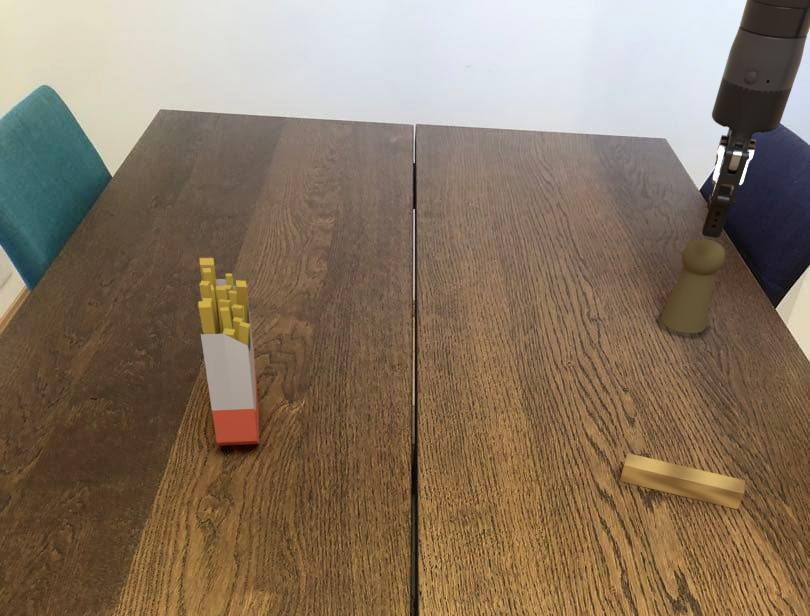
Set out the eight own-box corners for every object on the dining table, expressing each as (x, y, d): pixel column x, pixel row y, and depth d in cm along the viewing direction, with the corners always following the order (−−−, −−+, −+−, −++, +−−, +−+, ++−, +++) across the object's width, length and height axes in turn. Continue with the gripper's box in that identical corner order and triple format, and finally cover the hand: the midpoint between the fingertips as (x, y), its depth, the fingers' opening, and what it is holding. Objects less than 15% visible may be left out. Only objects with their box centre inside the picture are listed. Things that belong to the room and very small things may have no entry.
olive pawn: (692, 338, 108) (718, 258, 100) (652, 321, 111) (674, 242, 103) (714, 322, 111) (740, 244, 103) (674, 306, 114) (697, 229, 106)
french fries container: (262, 400, 93) (247, 248, 81) (263, 459, 86) (247, 301, 73) (221, 402, 93) (200, 249, 80) (218, 461, 85) (195, 302, 73)
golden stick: (738, 496, 84) (745, 480, 83) (737, 509, 83) (744, 493, 81) (622, 469, 87) (627, 452, 85) (619, 481, 85) (624, 464, 84)
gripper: (793, 100, 84) (741, 251, 96) (793, 66, 94) (746, 207, 106) (719, 89, 86) (676, 239, 97) (727, 57, 96) (687, 197, 107)
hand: (712, 222), depth 101 cm, fingers open, 8 cm apart
